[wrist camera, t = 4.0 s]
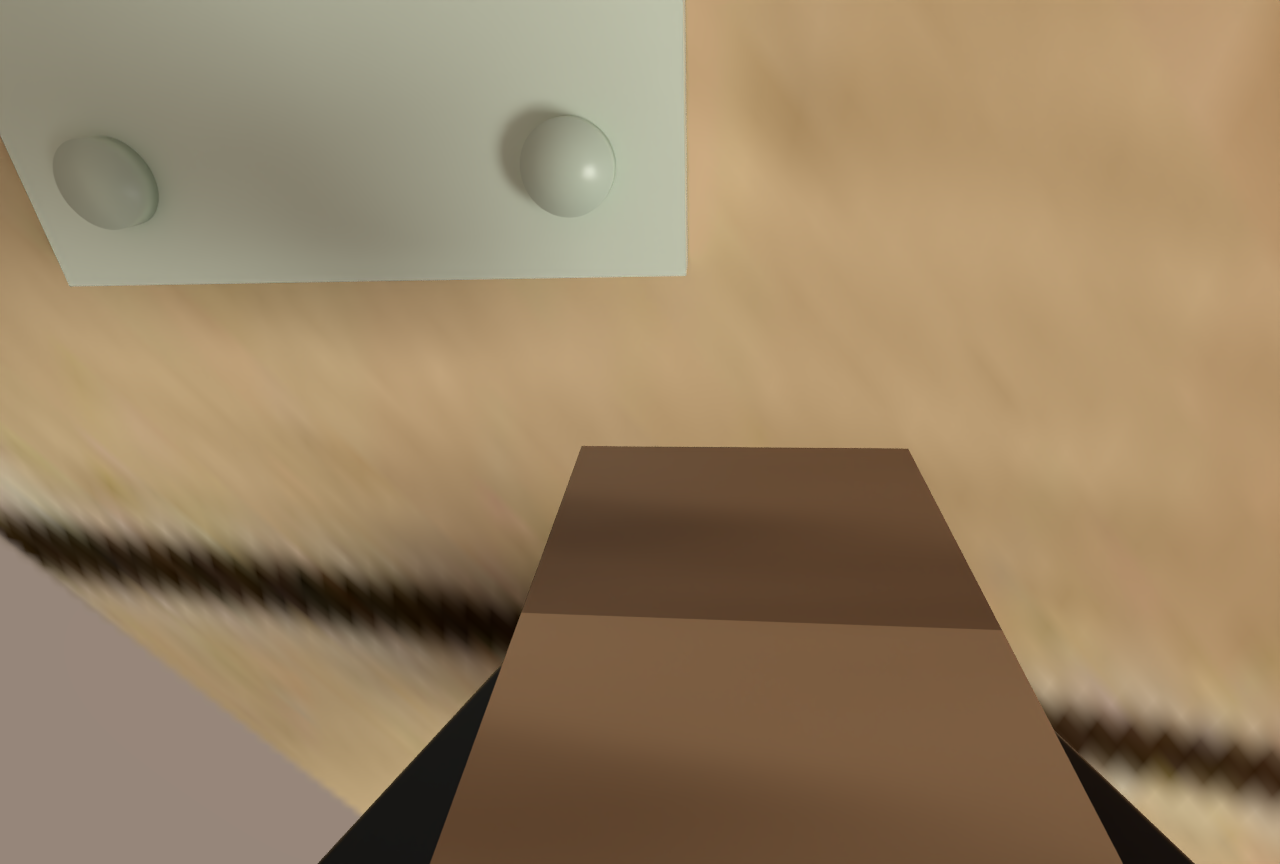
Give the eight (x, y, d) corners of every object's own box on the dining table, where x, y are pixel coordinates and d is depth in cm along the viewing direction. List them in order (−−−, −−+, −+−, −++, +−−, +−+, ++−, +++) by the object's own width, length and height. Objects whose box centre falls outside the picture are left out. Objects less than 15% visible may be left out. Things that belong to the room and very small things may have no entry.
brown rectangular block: (870, 683, 10) (1045, 1374, 5) (604, 671, 10) (488, 1288, 5) (908, 448, 8) (1275, 1159, 3) (581, 446, 8) (361, 1052, 3)
